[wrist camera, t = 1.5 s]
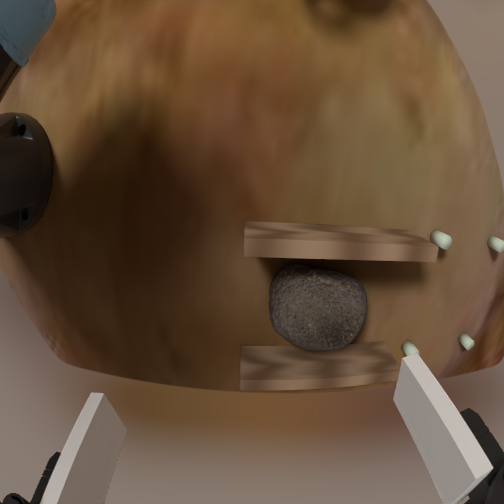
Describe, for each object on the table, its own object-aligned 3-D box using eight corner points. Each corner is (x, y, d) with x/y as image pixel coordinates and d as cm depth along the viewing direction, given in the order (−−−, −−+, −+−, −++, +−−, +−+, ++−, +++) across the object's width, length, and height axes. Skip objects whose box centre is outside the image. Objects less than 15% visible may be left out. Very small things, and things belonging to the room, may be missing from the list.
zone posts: (399, 350, 34) (407, 360, 32) (431, 229, 29) (442, 235, 27) (463, 340, 35) (471, 349, 33) (495, 236, 30) (506, 241, 27)
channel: (240, 355, 34) (239, 389, 28) (244, 221, 29) (244, 238, 23) (380, 350, 34) (398, 379, 29) (409, 230, 29) (439, 246, 23)
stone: (264, 306, 36) (309, 374, 31) (242, 287, 28) (299, 375, 24) (329, 259, 36) (379, 323, 31) (325, 228, 28) (391, 308, 24)
